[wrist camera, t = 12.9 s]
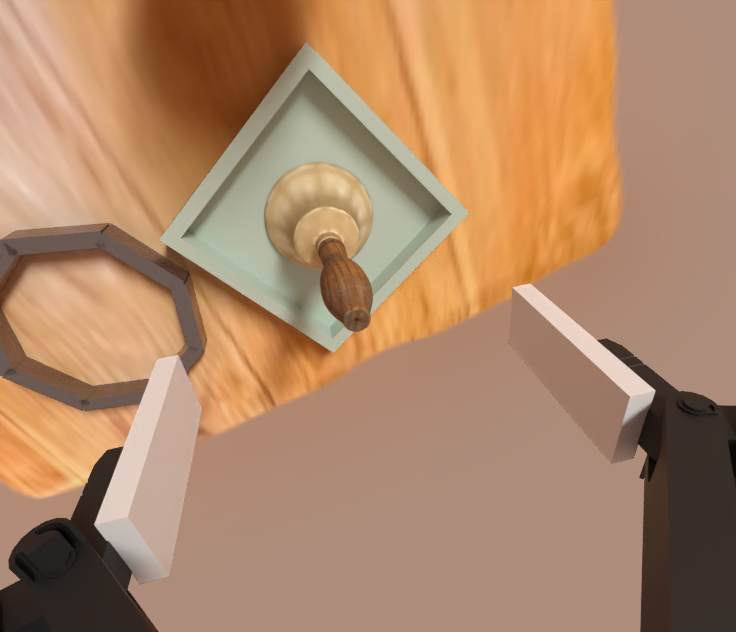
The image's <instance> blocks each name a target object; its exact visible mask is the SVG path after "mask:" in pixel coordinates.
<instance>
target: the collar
mask: <svg viewBox="0 0 736 632" xmlns="http://www.w3.org/2000/svg"><path fill="white" fill-rule="evenodd" d="M93 248H101V249H103V250H104V251H106V252H108V253H109V254H111V255H113V256H115V257H116V258H118V259H120V260H121V261H123V262H125V263H126V264H128V265H130V266H131V267H133V268H135V269H136V270H138V271H140V272H141V273H143V274H145V275H146V276H148V277H150V278H151V279H153V280H155V281H156V282H158V283H160V284H161V285H163V286H165V287H166V288H168V289H170V290H171V293H172V296H173V299H174V303H175V306H176V310H177V313H178V316H179V320H180V323H181V327H182V330H183V333H184V337H185V340H186V344H185V345H184V346H183V348H182V349H181V350H180V351H179V352H178V354H177V355H179V358H180V360H181V362H182V364H183V367H184V369H185V371H186V372H187V371H188V370H189V369H190V367H191V366H192V365H193V364H194V363H195V362H196V360H197V359H198V358H199V357H200V356H201V355H202V353H203V352H204V349H205V345H206V341H207V337H206V333H205V330H204V326H203V322H202V318H201V314H200V311H199V307H198V303H197V299H196V295H195V292H194V288H193V284H192V280H191V276H190V274H188V273H189V272H187V271H186V270H184V269H182V268H181V267H179V266H178V265H176V264H174V263H173V262H171V261H170V260H168V259H167V258H165V257H163V256H162V255H160V254H159V253H157V252H155V251H154V250H152V249H151V248H149V247H148V246H146V245H144V244H143V243H141V242H140V241H138V240H136V239H135V238H133V237H132V236H130V235H129V234H127V233H125V232H124V231H122V230H121V229H119V228H117V227H116V226H114V225H113V224H111V225H110V224H109V223H105V224H92V225H80V226H68V227H56V228H43V229H31V230H19V231H14V232H12V233H11V234H9V235H8V236H6V237H4V238H3V239H1V240H0V291H1V289H2V288H3V286H4V285H5V283H6V281H7V280H8V278H9V277H10V275H11V274H12V272H13V271H14V269H15V267H16V266H17V264H18V263H19V261H20V260H21V258H22V256H23V255H26V254H37V253H49V252H60V251H71V250H82V249H93ZM0 376H3V377H2V378H5V379H7V380H9V381H12V382H14V383H17V384H19V385H22V386H24V387H26V388H29V389H31V390H34V391H36V392H38V393H41V394H43V395H46V396H48V397H50V398H53V399H55V400H58V401H60V402H62V403H65V404H67V405H70V406H72V407H74V408H77V409H79V410H82V411H83V410H85V411H90V410H97V409H104V408H111V407H119V406H126V405H133V404H140V403H141V400H142V397H143V395H144V392H145V390H146V387H147V384H148V382H149V379H144V380H137V381H129V382H121V383H114V384H106V385H99V386H91V385H89V384H86V383H84V382H82V381H80V380H77V379H75V378H73V377H71V376H69V375H66V374H64V373H62V372H60V371H57V370H55V369H53V368H51V367H48V366H46V365H44V364H42V363H39V362H37V361H35V360H33V359H30V358H28V357H26V355H25V353H24V351H23V349H22V348H21V346H20V344H19V342H18V340H17V338H16V336H15V334H14V332H13V331H12V329H11V327H10V325H9V323H8V321H7V319H6V317H5V316H4V314H3V312H2V310H1V308H0Z"/></svg>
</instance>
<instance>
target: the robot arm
mask: <svg viewBox="0 0 736 632" xmlns="http://www.w3.org/2000/svg"><path fill="white" fill-rule="evenodd" d="M510 314H511V315H510V327H509V340H508V343H509V344H510V345H511V346H512V348H513V349H514V350H515V351H516V352H517V354H518V355H519V356H520V357H521V358H522V360H523V361H524V362H525V363H526V364H527V366H528V367H529V368H530V369H531V370H532V371H533V373H535V375H536V376H537V377H538V379H539V380H540V381H541V382H542V383H543V384H544V386H545V387H546V388H547V389H548V390H549V391H550V393H551V394H552V395H553V396H554V397H555V399H556V400H557V401H558V402H559V403H560V404H561V406H562V407H563V408H564V409H565V410H566V412H567V413H568V414H569V415H570V416H571V417H572V418H573V420H574V421H575V422H576V423H577V425H578V426H579V427H580V428H581V429H582V430H583V432H584V433H585V434H586V435H587V436H588V438H589V439H590V440H591V441H592V442H593V443H594V445H595V446H596V447H597V448H598V449H599V451H600V452H601V453H602V454H603V455H604V456H605V458H606V459H607V460H608V461H609V462H610V463H611V464H613V463H617V462H620V461H624V460H628V459H632V458H634V456H635V453H636V449H637V447H638V444H639V445H640V446H641V447H642V449H644V451H645V452H646V453H647V457H646V460H645V463H644V466H643V469H642V472H641V474H640V478H641V479H644V477H645V481H644V517H643V518H644V519H643V520H644V521H643V554H642V592H641V594H642V595H641V629H640V632H736V406H720V405H717V404H716V403H715V402H713V401H712V400H710V399H708V398H707V397H705V396H703V395H699V394H696V393H692V392H684V391H681V392H679V391H678V390H676V389H675V388H674V387H673V386H671V385H670V384H669V383H668V382H666V381H665V380H664V379H663V378H662V377H660V376H659V375H658V374H657V373H655V372H654V371H653V370H652V369H650V368H649V367H648V366H646V365H644V364H643V362H641V361H640V360H639V359H638V358H637V357H634V355H633V354H632V353H630V352H629V351H628V350H627V349H626V348H624V347H623V346H622V345H619V344H617V343H615V342H613V341H610V340H608V339H602V340H598V341H597V340H596V339H594V338H593V337H592V336H591V335H590V334H589V333H587V332H586V331H585V330H584V329H583V328H581V327H580V326H579V325H578V324H577V323H576V322H575V321H573V320H572V319H571V318H570V317H569V316H567V315H566V314H565V313H564V312H563V311H562V310H560V309H559V308H558V307H557V306H556V305H555V304H553V303H552V302H551V301H550V300H549V299H547V298H546V297H545V296H544V295H543V294H542V293H540V292H539V291H538V290H537V289H536V288H535V287H534V286H532V285H531V284H526V285H521V286H516V287H512V300H511V313H510ZM201 412H202V408H201V406H200V403H199V401H198V399H197V396H196V394H195V392H194V390H193V387H192V385H191V383H190V380H189V378H188V376H187V374H186V371H185V369H184V367H183V364H182V362H181V360H180V358H179V355H176V356H171V357H166V358H161V359H157V361H156V363H155V366H154V368H153V371H152V374H151V376H150V379H149V382H148V384H147V387H146V390H145V392H144V395H143V397H142V400H141V403H140V405H139V408H138V411H137V413H136V416H135V418H134V421H133V424H132V426H131V429H130V432H129V434H128V437H127V439H126V442H125V445H124V446H123V447H119V448H114V449H110V450H107V451H106V452H105V453H104V454H103V456H102V457H101V458H100V459H99V460H98V461H97V463H96V464H95V465H94V467H93V469H92V472H91V474H90V476H89V479H88V483H86V485H85V488H84V490H83V495H82V496H81V497H80V499H79V501H78V504H77V506H76V508H75V511H74V513H73V515H72V518H71V520H68V519H67V518H55V519H52V520H49V521H46V522H44V523H42V524H40V525H39V526H37V527H35V528H33V529H32V530H31V531H30V532H29V533H27V534H26V535H25V536H24V537H23V538H21V540H20V541H19V543H18V544H17V545H16V546H15V547H14V549H13V550H12V553H11V555H10V558H9V569H10V570H11V571H12V572H13V573H14V574H15V575H16V576H17V577H18V578H20V579H21V580H19V581H17V582H16V583H14V584H12V585H10V586H8V587H6V588H4V589H2V590H0V632H158V630H157V629H156V628H155V626H154V625H153V623H152V622H151V621H150V620H149V618H148V617H147V616H146V614H145V612H144V611H143V610H142V608H141V607H140V606H139V604H138V603H137V601H136V600H135V599H134V598H133V596H132V595H131V593H130V592H129V591H128V590H127V589H128V585H129V582H130V578H131V574H133V576H134V577H135V578H136V580H137V581H138V582H139V583H140V584H144V583H148V582H152V581H156V580H160V579H163V578H167V577H169V576H170V570H171V566H172V561H173V556H174V550H175V545H176V540H177V535H178V530H179V525H180V519H181V515H182V509H183V504H184V499H185V494H186V488H187V484H188V479H189V473H190V469H191V464H192V458H193V453H194V448H195V443H196V438H197V433H198V428H199V423H200V418H201Z"/></svg>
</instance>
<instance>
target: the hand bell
mask: <svg viewBox="0 0 736 632" xmlns="http://www.w3.org/2000/svg"><path fill="white" fill-rule="evenodd" d="M264 218H265V226H266V230H267V233H268V236H269V238H270V240H271V242H272V244H273V245H274V247H275V248H276V249H277V250H278V251H279V253H280V254H281V255H282V256H284V257H285V258H286V259H288V260H289V261H291V262H292V263H294V264H297V265H299V266H302V267H305V268H310V269H318V270H322V272H321V277H320V289H321V295H322V298H323V302H324V304H325V306H326V308H327V309H328V311H329V312H330V313H331V314H332V315H333V316H334V317H335V318H336V319H337V320H339V321H340V322H342V324H343V325H344V326H345V327H346V328H347V329H348V330H349V331H352V332H359V331H362V330H364V329H365V328H367V327H368V325H369V323H370V320H371V316H370V312H371V308H372V303H373V292H372V287H371V284H370V281H369V279H368V277H367V275H366V274H365V272H364V271H363V269H362V268H361V267H360V266H359V265H358V264H357V263H356V262H354V261H353V260H351V259H352V258H353V257H354V256H355V255H356V254H357V253H358V252H359V251H360V250H361V249H362V247H363V246H364V244H365V243H366V241H367V239H368V237H369V235H370V232H371V228H372V223H373V209H372V204H371V200H370V196H369V194H368V192H367V190H366V189H365V187H364V185H363V184H362V183H361V182H360V180H359V179H358V178H357V177H356V176H355V175H353V174H352V173H351V172H350V171H348V170H346V169H344V168H343V167H341V166H338V165H335V164H331V163H326V162H312V163H306V164H302V165H299V166H297V167H295V168H293V169H291V170H289V171H288V172H286V173H285V174H284V175H282V177H281V178H279V180H278V181H277V182H276V183H275V184H274V186H273V187H272V189H271V191H270V193H269V195H268V198H267V201H266V204H265V211H264Z"/></svg>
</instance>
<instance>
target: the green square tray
mask: <svg viewBox="0 0 736 632" xmlns="http://www.w3.org/2000/svg"><path fill="white" fill-rule="evenodd" d="M312 162H326V163H331V164H335V165H338V166H341V167H343V168H344V169H346V170H348V171H350V172H351V173H352V174H353V175H355V176H356V177H357V178H358V179H359V180H360V182H361V183H362V184H363V185H364V187H365V189H366V190H367V192H368V194H369V196H370V200H371V204H372V209H373V223H372V228H371V232H370V235H369V237H368V239H367V241H366V243H365V244H364V246H363V247H362V249H361V250H360V251H359V252H358V253H357V254H356V255H355V256H354V257H353V258H352V259H351V260H353V261H354V262H356V263H357V264H358V265H359V266H360V267H361V268H362V269H363V271H364V272H365V274H366V275H367V277H368V279H369V281H370V284H371V287H372V292H373V303H372V308H371V312H370V315H371V314H372V313H373V312H374V311H375V310H376V309H377V308H378V307H379V306H380V304H381V303H382V302H383V301H384V300H385V299H386V298H387V297H388V296H389V295H390V294H391V293H392V292H393V291H394V290H395V289H396V288H397V287H398V286H399V285H400V284H401V283H402V282H403V281H404V280H405V279H406V278H407V277H408V276H409V275H410V274H411V273H412V271H413V270H414V269H415V268H416V267H417V266H418V265H419V264H420V263H421V262H422V261H423V260H424V259H425V258H426V257H427V256H428V255H429V254H430V253H431V252H432V251H433V250H434V249H435V248H436V247H437V246H438V245H439V244H440V243H441V242H442V241H443V240H444V238H445V237H446V236H447V235H448V234H449V233H450V232H451V231H452V230H453V229H454V228H455V227H456V226H457V225H458V224H459V223H460V222H461V221H462V220H463V219H464V218H465V217H466V216H467V215H468V214H469V212H468V211H467V210H466V209H465V208H464V206H463V205H462V204H461V203H460V202H459V201H458V200H457V199H456V198H455V197H454V196H453V195H452V194H451V193H450V192H449V191H448V190H447V189H446V188H445V187H444V185H443V184H442V183H441V182H440V181H439V180H438V179H437V178H436V177H435V176H434V175H433V174H432V173H431V172H430V171H429V170H428V169H427V168H426V167H425V166H424V164H423V163H422V162H421V161H420V160H419V159H418V158H417V157H416V156H415V155H414V154H413V153H412V152H411V151H410V150H409V149H408V148H407V147H406V146H405V145H404V143H403V142H402V141H401V140H400V139H399V138H398V137H397V136H396V135H395V134H394V133H393V132H392V131H391V130H390V129H389V128H388V127H387V126H386V125H385V124H384V122H383V121H382V120H381V119H380V118H379V117H378V116H377V115H376V114H375V113H374V112H373V111H372V110H371V109H370V108H369V107H368V106H367V105H366V104H365V102H364V101H363V100H362V99H361V98H360V97H359V96H358V95H357V94H356V93H355V92H354V91H353V90H352V89H351V88H350V87H349V86H348V85H347V84H346V83H345V81H344V80H343V79H342V78H341V77H340V76H339V75H338V74H337V73H336V72H335V71H334V70H333V69H332V68H331V67H330V66H329V65H328V64H327V63H326V62H325V60H324V59H323V58H322V57H321V56H320V55H319V54H318V53H317V52H316V51H315V50H314V49H313V48H312V47H311V46H310V45H309V44H308V43H307V42H306V43H304V45H303V46H302V47H301V49H300V50H299V51H298V53H297V54H296V55H295V57H294V58H293V59H292V61H291V62H290V63H289V65H288V66H287V67H286V69H285V70H284V71H283V73H282V74H281V76H280V77H279V78H278V80H277V81H276V82H275V84H274V85H273V86H272V88H271V89H270V90H269V92H268V93H267V94H266V96H265V97H264V98H263V100H262V101H261V103H260V104H259V105H258V107H257V108H256V109H255V111H254V112H253V113H252V115H251V116H250V117H249V119H248V120H247V121H246V123H245V124H244V125H243V127H242V128H241V129H240V131H239V132H238V134H237V135H236V136H235V138H234V139H233V140H232V142H231V143H230V144H229V146H228V147H227V148H226V150H225V151H224V152H223V154H222V155H221V156H220V158H219V159H218V160H217V162H216V163H215V165H214V166H213V167H212V169H211V170H210V171H209V173H208V174H207V175H206V177H205V178H204V179H203V181H202V182H201V183H200V185H199V186H198V187H197V189H196V190H195V192H194V193H193V194H192V196H191V197H190V198H189V200H188V201H187V202H186V204H185V205H184V206H183V208H182V209H181V210H180V212H179V213H178V214H177V216H176V217H175V218H174V220H173V221H172V223H171V224H170V225H169V227H168V228H167V229H166V231H165V232H164V234H163V235H162V237H161V238H160V241H161V242H163V243H164V244H166V245H167V246H169V247H170V248H172V249H174V250H175V251H177V252H178V253H180V254H181V255H183V256H184V257H186V258H187V259H189V260H191V261H192V262H194V263H195V264H197V265H198V266H200V267H201V268H203V269H204V270H206V271H208V272H209V273H211V274H212V275H214V276H215V277H217V278H218V279H220V280H221V281H223V282H225V283H226V284H228V285H229V286H231V287H232V288H234V289H235V290H237V291H239V292H240V293H242V294H243V295H245V296H246V297H248V298H249V299H251V300H252V301H254V302H256V303H257V304H259V305H260V306H262V307H263V308H265V309H266V310H268V311H269V312H271V313H273V314H274V315H276V316H277V317H279V318H280V319H282V320H283V321H285V322H286V323H288V324H290V325H291V326H293V327H294V328H296V329H297V330H299V331H300V332H302V333H303V334H305V335H307V336H308V337H310V338H311V339H313V340H314V341H316V342H317V343H319V344H320V345H322V346H324V347H325V348H327V349H328V350H330V351H331V352H333V353H334V352H335V351H336V350H337V349H338V348H339V347H340V346H341V345H342V344H343V343H344V342H345V341H346V340H347V339H348V337H349V336H350V335H351V334H352V333H353V332H352V331H349V330H348V329H347V328H346V327H345V326H344V325H343V324H342V322H340V321H339V320H337V319H336V318H335V317H334V316H333V315H332V314H331V313H330V312H329V311H328V309H327V308H326V306H325V304H324V302H323V298H322V295H321V289H320V277H321V272H322V270H318V269H310V268H305V267H302V266H299V265H297V264H294V263H292V262H291V261H289V260H288V259H286V258H285V257H284V256H282V255H281V254H280V253H279V251H278V250H277V249H276V248H275V247H274V245H273V244H272V242H271V240H270V238H269V236H268V233H267V230H266V226H265V218H264V211H265V204H266V201H267V198H268V195H269V193H270V191H271V189H272V187H273V186H274V184H275V183H276V182H277V181H278V180H279V178H281V177H282V175H284V174H285V173H286V172H288V171H289V170H291V169H293V168H295V167H297V166H299V165H302V164H306V163H312Z"/></svg>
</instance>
